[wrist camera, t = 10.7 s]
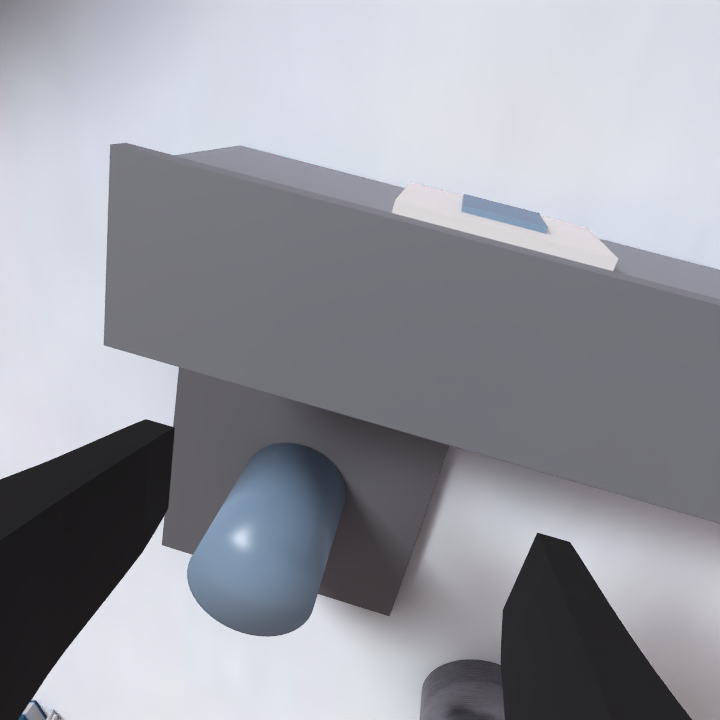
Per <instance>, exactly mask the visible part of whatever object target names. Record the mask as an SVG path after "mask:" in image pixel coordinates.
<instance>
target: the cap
mask: <svg viewBox="0 0 720 720" xmlns="http://www.w3.org/2000/svg"><path fill="white" fill-rule="evenodd" d="M420 720H505V714H504V701H503V688H502V675H501V665H498V664H496V663H492V662H488V661H482V660H459V661H454V662H450V663H447V664H444V665H442V666H440V667H438V668H437V669H435V670H434V671H433V672H431V673H430V674H429V676H428V677H427V678H426V680H425V682H424V684H423V687H422V696H421V708H420Z"/></svg>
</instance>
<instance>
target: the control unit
mask: <svg viewBox="0 0 720 720" xmlns="http://www.w3.org/2000/svg"><path fill="white" fill-rule="evenodd" d="M104 345H105V346H109V347H112V348H115V349H119V350H122V351H126V352H129V353H133V354H136V355H140V356H143V357H147V358H150V359H153V360H157V361H160V362H164V363H167V364H171V365H174V366H178V367H181V368H185V369H188V370H191V371H195V372H198V373H202V374H205V375H209V376H212V377H216V378H219V379H222V380H226V381H229V382H233V383H236V384H240V385H243V386H247V387H250V388H254V389H257V390H260V391H264V392H267V393H271V394H274V395H278V396H281V397H285V398H288V399H292V400H295V401H298V402H302V403H305V404H309V405H312V406H316V407H319V408H323V409H326V410H330V411H333V412H336V413H340V414H343V415H347V416H350V417H354V418H357V419H361V420H364V421H368V422H371V423H374V424H378V425H381V426H385V427H388V428H392V429H395V430H399V431H402V432H405V433H409V434H412V435H416V436H419V437H423V438H426V439H430V440H433V441H437V442H440V443H443V444H447V445H450V446H454V447H457V448H461V449H464V450H468V451H471V452H475V453H478V454H481V455H485V456H488V457H492V458H495V459H499V460H502V461H506V462H509V463H513V464H516V465H519V466H523V467H526V468H530V469H533V470H537V471H540V472H544V473H547V474H551V475H554V476H557V477H561V478H564V479H568V480H571V481H575V482H578V483H582V484H585V485H588V486H592V487H595V488H599V489H602V490H606V491H609V492H613V493H616V494H620V495H623V496H626V497H630V498H633V499H637V500H640V501H644V502H647V503H651V504H654V505H658V506H661V507H664V508H668V509H671V510H675V511H678V512H682V513H685V514H689V515H692V516H696V517H699V518H702V519H706V520H709V521H713V522H716V523H720V270H717V269H713V268H709V267H705V266H701V265H698V264H694V263H690V262H686V261H682V260H678V259H675V258H671V257H667V256H663V255H659V254H655V253H651V252H648V251H644V250H640V249H636V248H632V247H628V246H624V245H621V244H617V243H613V242H609V241H605V240H601V239H598V238H597V237H596V236H595V235H594V234H593V233H592V232H591V231H590V230H589V229H588V228H586V227H582V226H578V225H575V224H571V223H567V222H563V221H559V220H555V219H551V218H547V217H544V216H540V214H539V213H536V212H532V211H528V210H524V209H520V208H516V207H513V206H509V205H505V204H501V203H497V202H493V201H489V200H486V199H482V198H478V197H474V196H470V195H466V194H464V196H462V195H459V194H455V193H451V192H447V191H443V190H439V189H435V188H432V187H428V186H424V185H420V184H416V183H412V182H410V183H409V184H408V185H407V187H406V188H401V187H397V186H393V185H390V184H386V183H382V182H378V181H374V180H370V179H366V178H363V177H359V176H355V175H351V174H347V173H343V172H340V171H336V170H332V169H328V168H324V167H320V166H316V165H313V164H309V163H305V162H301V161H297V160H293V159H289V158H286V157H282V156H278V155H274V154H270V153H266V152H263V151H259V150H255V149H251V148H247V147H243V146H234V147H228V148H221V149H214V150H208V151H201V152H195V153H188V154H181V155H175V156H174V155H170V154H166V153H162V152H158V151H155V150H151V149H147V148H143V147H139V146H136V145H132V144H128V143H122V144H111V145H110V172H109V203H108V233H107V264H106V294H105V325H104Z"/></svg>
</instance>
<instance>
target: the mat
mask: <svg viewBox="0 0 720 720" xmlns="http://www.w3.org/2000/svg"><path fill="white" fill-rule="evenodd" d="M173 427H174V428H175V433H174V445H173V457H172V470H171V482H170V494H169V506H168V510H167V512H166V513H165V518H164V528H163V539H162V545H164V546H167V547H170V548H173V549H176V550H180V551H183V552H186V553H189V554H192V555H193V554H194V552H195V551H196V549H197V547H198V546H199V544H200V542H201V541H202V539H203V537H204V535H205V534H206V532H207V530H208V529H209V527H210V525H211V524H212V522H213V520H214V519H215V517H216V515H217V514H218V512H219V510H220V509H221V507H222V505H223V504H224V502H225V500H226V499H227V497H228V495H229V494H230V492H231V490H232V489H233V487H234V485H235V484H236V482H237V480H238V478H239V477H240V475H241V473H242V472H243V470H244V468H245V467H246V465H247V463H248V462H249V460H250V459H251V457H252V456H253V455H254V454H255V453H256V452H258V451H259V450H261V449H262V448H264V447H267V446H269V445H273V444H277V443H296V444H301V445H304V446H307V447H310V448H312V449H315V450H317V451H318V452H320V453H322V454H323V455H324V456H326V457H327V458H328V459H329V460H330V461H331V462H332V463H333V464H334V465H335V466H336V467H337V469H338V470H339V472H340V473H341V475H342V477H343V480H344V483H345V488H346V499H345V504H344V507H343V510H342V514H341V517H340V520H339V524H338V527H337V531H336V534H335V537H334V541H333V544H332V547H331V551H330V554H329V557H328V561H327V564H326V567H325V571H324V574H323V577H322V581H321V584H320V587H319V591H318V594H320V595H324V596H327V597H330V598H333V599H336V600H340V601H343V602H346V603H349V604H352V605H355V606H359V607H362V608H365V609H368V610H371V611H375V612H378V613H381V614H384V615H387V616H390V614H391V611H392V608H393V605H394V602H395V599H396V596H397V593H398V591H399V588H400V585H401V582H402V579H403V576H404V573H405V570H406V568H407V565H408V562H409V559H410V556H411V553H412V550H413V547H414V545H415V542H416V539H417V536H418V533H419V530H420V527H421V524H422V522H423V519H424V516H425V513H426V510H427V507H428V504H429V501H430V498H431V496H432V493H433V490H434V487H435V484H436V481H437V478H438V475H439V473H440V470H441V467H442V464H443V461H444V458H445V455H446V452H447V450H448V447H449V445H447V444H443V443H440V442H437V441H433V440H430V439H426V438H423V437H419V436H416V435H412V434H409V433H405V432H402V431H399V430H395V429H392V428H388V427H385V426H381V425H378V424H374V423H371V422H368V421H364V420H361V419H357V418H354V417H350V416H347V415H343V414H340V413H336V412H333V411H330V410H326V409H323V408H319V407H316V406H312V405H309V404H305V403H302V402H298V401H295V400H292V399H288V398H285V397H281V396H278V395H274V394H271V393H267V392H264V391H260V390H257V389H254V388H250V387H247V386H243V385H240V384H236V383H233V382H229V381H226V380H222V379H219V378H216V377H212V376H209V375H205V374H202V373H198V372H195V371H191V370H188V369H185V368H181V367H179V374H178V384H177V394H176V405H175V415H174V425H173Z"/></svg>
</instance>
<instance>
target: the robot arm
mask: <svg viewBox="0 0 720 720" xmlns="http://www.w3.org/2000/svg"><path fill="white" fill-rule="evenodd" d="M174 433H175V428H174V427H171V426H167V425H164V424H161V423H157V422H154V421H150V420H147V419H146V420H143V421H140V422H138V423H135V424H133V425H130V426H128V427H126V428H123V429H121V430H119V431H117V432H114V433H112V434H110V435H108V436H105V437H103V438H101V439H98V440H96V441H94V442H92V443H89V444H87V445H85V446H82V447H80V448H78V449H75V450H73V451H71V452H68V453H66V454H64V455H61V456H59V457H57V458H54V459H52V460H50V461H47V462H45V463H42V464H40V465H37V466H34V467H32V468H29V469H27V470H24V471H21V472H19V473H16V474H14V475H11V476H8V477H6V478H3V479H1V480H0V720H19V718H20V717H21V715H22V713H23V712H24V710H25V709H26V707H27V706H28V704H29V703H30V701H31V700H32V698H33V697H34V695H35V693H36V692H37V690H38V689H39V687H40V686H41V684H42V683H43V681H44V680H45V678H46V677H47V675H48V674H49V672H50V671H51V669H52V668H53V667H54V665H55V664H56V663H57V661H58V660H59V658H60V657H61V656H62V654H63V653H64V652H65V650H66V649H67V648H68V646H69V645H70V644H71V643H72V641H73V640H74V639H75V638H76V636H77V635H78V634H79V633H80V631H81V630H82V629H83V627H84V626H85V625H86V624H87V622H88V621H89V620H90V619H91V617H92V616H93V615H94V614H95V612H96V611H97V610H98V608H99V607H100V606H101V605H102V603H103V602H104V601H105V600H106V598H107V597H108V596H109V595H110V593H111V592H112V591H113V589H114V588H115V587H116V586H117V584H118V583H119V582H120V581H121V579H122V578H123V577H124V575H125V574H126V573H127V572H128V570H129V569H130V568H131V566H132V565H133V564H134V562H135V561H136V560H137V559H138V557H139V556H140V555H141V553H142V552H143V550H144V549H145V547H146V545H147V544H148V542H149V541H150V539H151V537H152V536H153V534H154V532H155V531H156V529H157V527H158V526H159V524H160V522H161V520H162V519H163V517H164V515H165V513H166V512H167V510H168V506H169V494H170V482H171V470H172V457H173V445H174ZM501 675H502V688H503V701H504V714H505V720H692V719H691V718H690V716H689V715H688V714H687V713H686V711H685V710H684V709H683V708H682V706H681V705H680V704H679V702H678V701H677V700H676V698H675V697H674V696H673V694H672V693H671V692H670V690H669V689H668V688H667V686H666V685H665V684H664V682H663V681H662V680H661V678H660V677H659V676H658V674H657V673H656V671H655V670H654V669H653V667H652V666H651V665H650V663H649V662H648V660H647V659H646V658H645V656H644V655H643V653H642V652H641V650H640V649H639V648H638V646H637V645H636V643H635V642H634V640H633V639H632V637H631V636H630V634H629V633H628V631H627V630H626V628H625V627H624V625H623V624H622V622H621V621H620V619H619V618H618V616H617V615H616V613H615V612H614V610H613V609H612V607H611V606H610V604H609V602H608V601H607V599H606V598H605V596H604V595H603V593H602V591H601V590H600V588H599V587H598V585H597V584H596V582H595V580H594V579H593V577H592V576H591V574H590V572H589V571H588V569H587V568H586V566H585V565H584V563H583V561H582V560H581V558H580V557H579V555H578V554H577V552H576V550H575V549H574V547H573V546H572V544H571V543H570V542H568V541H564V540H561V539H557V538H554V537H550V536H547V535H544V534H540V533H537V535H536V537H535V539H534V541H533V544H532V546H531V548H530V550H529V553H528V555H527V557H526V559H525V562H524V564H523V566H522V568H521V571H520V573H519V575H518V577H517V580H516V582H515V584H514V586H513V589H512V591H511V593H510V595H509V597H508V600H507V602H506V604H505V606H504V609H503V619H502V639H501Z"/></svg>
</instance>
